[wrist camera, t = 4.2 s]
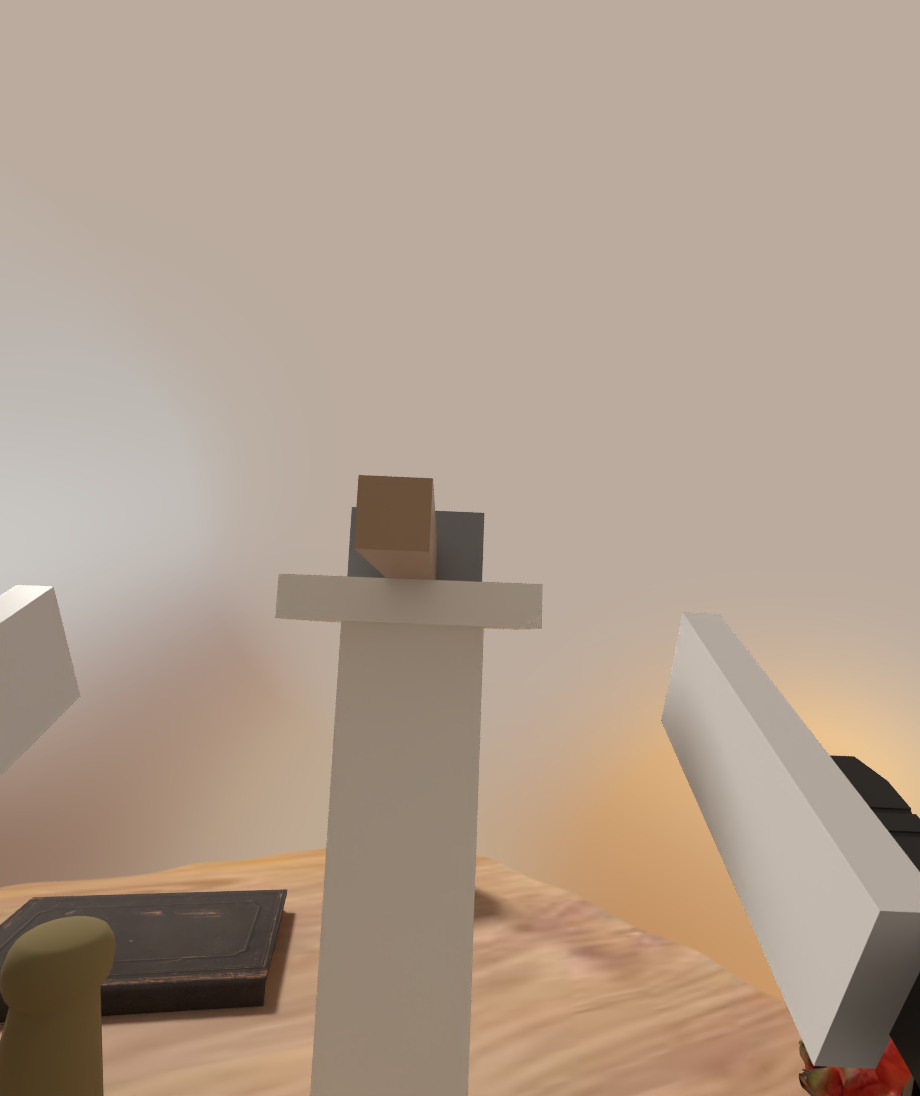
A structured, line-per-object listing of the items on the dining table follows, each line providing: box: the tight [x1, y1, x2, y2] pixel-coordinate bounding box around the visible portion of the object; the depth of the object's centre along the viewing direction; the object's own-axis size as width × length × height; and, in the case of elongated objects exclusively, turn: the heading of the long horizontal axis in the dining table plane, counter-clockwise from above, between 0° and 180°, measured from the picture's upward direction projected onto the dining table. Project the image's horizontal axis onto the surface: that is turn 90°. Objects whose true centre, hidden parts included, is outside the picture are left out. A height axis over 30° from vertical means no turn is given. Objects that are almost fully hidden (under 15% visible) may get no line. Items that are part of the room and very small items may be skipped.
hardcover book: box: [0, 890, 287, 1022], centre depth 51 cm, size 16×23×2 cm
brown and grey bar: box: [347, 475, 484, 582], centre depth 29 cm, size 22×7×4 cm, turn 2°
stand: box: [275, 574, 542, 1096], centre depth 32 cm, size 12×12×30 cm
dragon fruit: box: [799, 1039, 912, 1096], centre depth 34 cm, size 8×8×12 cm
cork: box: [0, 916, 116, 1096], centre depth 32 cm, size 6×6×11 cm
